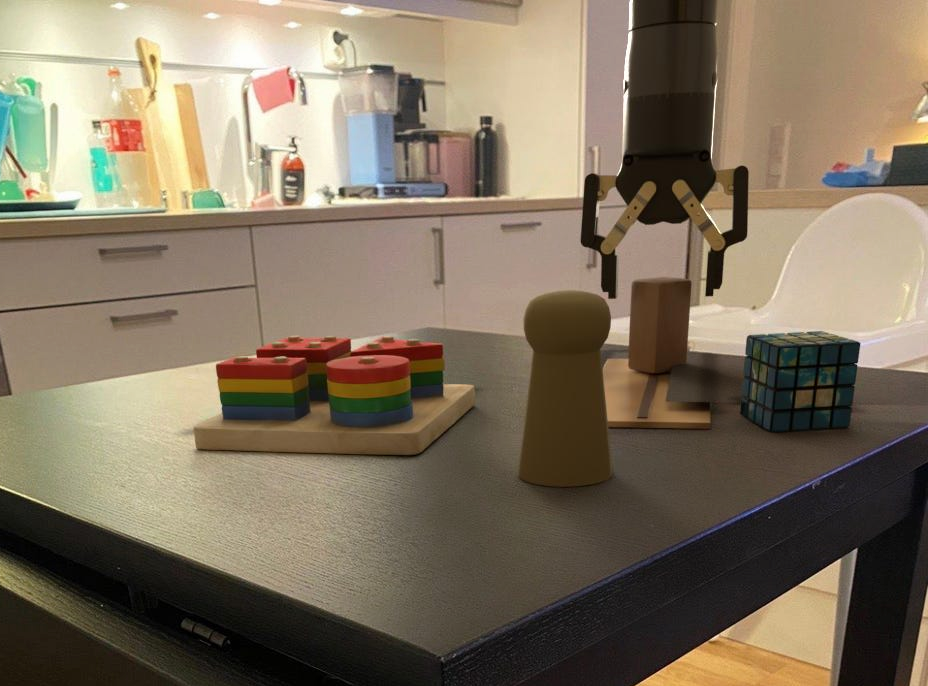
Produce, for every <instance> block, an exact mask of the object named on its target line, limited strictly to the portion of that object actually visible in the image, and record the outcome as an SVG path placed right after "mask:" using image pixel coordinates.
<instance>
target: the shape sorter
mask: <svg viewBox="0 0 928 686" xmlns="http://www.w3.org/2000/svg"><path fill="white" fill-rule="evenodd" d="M255 354H256V355H255V356H256V357H249V356H247V355H238V356H235V357H231V358H228V359H225V360H224V361H221V362H218V363H215V372H216V377H217V380H216V381H217V387H218V392H219V401H220V405H221V413H219V414H217V415H215V416H213V417H211V418H208V419H207V420H204V421H202V422H200V423H198V424H196V425H195V426H194V427H193V436H194V444H195V448H196V449H199V450H212V451H241V452H242V451H243V452H244V451H246V452H271V453H272V452H273V453H275V452H276V453H309V454H312V453H313V454H340V455H341V454H342V455H343V454H344V455H380V456H381V455H383V456H384V455H385V456H413V455H418V454H421V453H422V452H423V451H425V450H426V448H428V447H429V446H430V445H431V444H432V443H433V442H435V440H437V439H438V438H439V437H440V436H441V435H442V434H444V432H446V431H447V430H448V429H449V428H451V427H452V425H454V424H455V423H456V422H457V421H458V420H459V419H460V418H461V417H462V416H464V415H465V414H466V413H467V412H469V410H470V409H472V407H473V406H474V405H475V404H476V394H475V393H476V392H475V386H474V385H473V384H466V383H465V384H464V383H463V384H456V383H455V384H453V383H451V384H448V383H447V384H445V383H444V371H445V370H446V363H445V362H446V361H445V358H444V357H443V356H444V345H443V343H437V342H425V341H421V339H419V338H411V339H406V340H405V339H398V338H394V336H393V335H383V336H381V337H379V338H377V339H375V340H372V341H370V342H368V343H366V344H364V345H362V346H360V347H358V348H356V349H354V350H352V340H351V338H350V337H337V336H336V335H325V336H324V337H301V336H300V335H289V336H287V337H285V338H282V339H279V340H276V341H274V342H272V343H269V344H266V345H264V346H261V347H259V348H256V349H255Z"/></svg>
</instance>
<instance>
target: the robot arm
mask: <svg viewBox="0 0 928 686" xmlns="http://www.w3.org/2000/svg"><path fill="white" fill-rule="evenodd" d="M718 7H719V0H629V8H628V10H629V11H628V15H629V16H628V32H629V33H628V36H627V37H628V38H627V47H626V54H625V58H624V59H625V60H624V71H623V72H624V75H623V81H622V93H623V106H622V107H623V109H622V111H623V112H622V142H621V143H622V144H621V145H622V146H621V148H622V149H621V154H622V155H621V165H620V168H619V171H618V173H617V174H616V175H610V174H609V175H608V174H606V175H605V174H598V173H595V172H592V173H591V172H590V173H588V174H587V175H586V176H585V178H584V185H583V199H582V214H581V226H580V227H581V228H580V244H581V246H582V247H583V248H588V249H591V250H594V251H596V252H598V254H599V255H600V258H601V259H600V261H601V263H600V267H601V268H600V269H601V270H600V288H601V291H602V293H607V299H608V300H617V298H618V294H619V292H618V291H619V264H620V263H619V262H620V261H619V260H620V259H619V257H620V254H619V253H617V248H618V246H619V245H620V244H621V242H622V240H624V238H625V237H626V235H627V234H628V232H630V230H631V229H632V227H633V226H634V225H635V223H636V222H637V221H638V223H640V224H643V225H645V226H653V225H657V224H660V223H667V224H671V225H678V224H682V223H685V222H687V221H688V220H689V219H691V221H692V222H693V223H694V225H695V226H696V227H697V229H698V230H699V232H701V234H702V236H703V238H704V239H705V240H706V242H707V244H709V246H710V247H709V250H707V258H706V260H707V261H706V275H705V294H704V297H705V298H707V297H714V290H720V289H721V287H722V285H723V279H724V264H725V261H724V260H725V253H726V250H727V249H728V248H730V247H731V246H733V245H736V244H739V243H742V242H744V241H745V240H746V239H747V237H748V226H749V225H748V223H749V222H748V221H749V178H750V177H749V175H750V173H749V168H748V167H747V166H745V165H739V166H738V165H737V167H735V168H727V169H717V170H716V169H715V167H714V165H713V161H712V158H713V156H712V155H713V143H714V141H713V139H714V126H715V125H714V124H715V108H716V91H717V84H718V41H717V39H718V38H717V24H718V9H719V8H718ZM716 183H719V184H720V185H721V186H722V190H723V193H724V194H725V195H727V196H732V212H731V213H732V214H731V215H732V217H731V218H732V219H731V221H732V222H731V228H730V229H727V230H726V231H723V232H721V231H720V230H719V228H718V227H717V225H716V224H715V222H714V221H713V219H712V218H711V216H710V214H708V212H707V211H706V209H705V207H704V206H703V205H702V203H703V202H704V200H705V199H706V197H707V196H708V195H709V193H710V192H711V190H712V189H713V188H714V186H715V184H716ZM613 188H615V189H616V191H617V193H618V194H619V196H620V197H621V198H622V200H623V202H624V203H625V204H626V208H625V210H624V211H623V213H621V215H620V216H619V218H618V220H617V221H616V222H615V224H614V225H613V227H612V229H610V231H609V233H608V234H607V235H606V236H604V235H601V234H599V233H598V230H599V229H598V228H599V216H600V215H599V214H600V202H603V201H605V200H607V198H608V197H609V194H610V191H611V190H612V189H613Z"/></svg>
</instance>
